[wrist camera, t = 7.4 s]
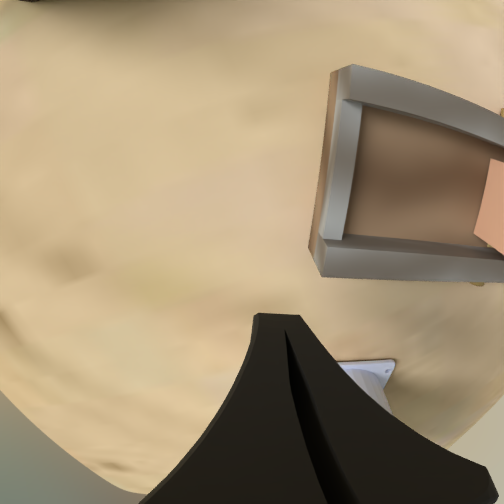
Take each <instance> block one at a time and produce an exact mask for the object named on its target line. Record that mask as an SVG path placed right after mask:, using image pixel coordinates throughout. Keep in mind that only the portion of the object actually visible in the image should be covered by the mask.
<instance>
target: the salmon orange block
mask: <svg viewBox="0 0 504 504" xmlns="http://www.w3.org/2000/svg"><path fill="white" fill-rule="evenodd" d="M474 234H475V235H476V236H478V237H479V238H481V239H482V240H484V241H485V242H486V243H488V244H489V245H491V246H492V247H493V248H495V249H496V250H498V251H499V252H500V253H502V254H503V255H504V163H503V162H500V161H497V160H494V159H490V165H489V170H488V175H487V180H486V185H485V190H484V194H483V199H482V203H481V207H480V211H479V215H478V219H477V222H476V226H475V229H474Z"/></svg>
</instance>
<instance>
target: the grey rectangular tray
mask: <svg viewBox="0 0 504 504" xmlns="http://www.w3.org/2000/svg"><path fill="white" fill-rule="evenodd" d="M490 159H494V160H497V161H500V162H503V163H504V108H502V109H501V116H500V115H498V114H496V113H494V112H492V111H489V110H487V109H485V108H483V107H481V106H479V105H476V104H474V103H472V102H469V101H467V100H465V99H462V98H460V97H457V96H455V95H452V94H450V93H447V92H445V91H442V90H439V89H436V88H434V87H431V86H428V85H425V84H422V83H419V82H416V81H413V80H410V79H407V78H404V77H400V76H397V75H393V74H390V73H386V72H383V71H379V70H375V69H371V68H367V67H363V66H359V65H355V64H351V65H349V66H346V67H344V68H341V69H339V70H336V71H334V72H331V74H330V85H329V95H328V105H327V114H326V123H325V132H324V141H323V149H322V157H321V165H320V172H319V180H318V187H317V194H316V201H315V208H314V214H313V221H312V227H311V233H310V240H309V246H308V248H309V250H310V253H311V255H312V257H313V259H314V261H315V264H316V266H317V268H318V270H319V272H320V275H321V277H330V278H353V279H379V280H409V281H444V282H469V283H471V284H473V285H476V286H483V285H484V283H485V282H497V283H504V255H503V254H502V253H500V252H499V251H498V250H496V249H495V248H493V247H492V246H491V245H489V244H488V243H486V242H485V241H484V240H482V239H481V238H479V237H478V236H476V235H475V234H474V229H475V226H476V222H477V219H478V215H479V211H480V207H481V203H482V199H483V194H484V190H485V185H486V180H487V175H488V170H489V165H490Z"/></svg>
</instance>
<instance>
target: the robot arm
mask: <svg viewBox="0 0 504 504" xmlns="http://www.w3.org/2000/svg"><path fill="white" fill-rule="evenodd" d="M394 367H395V362H394V360H392V359H389V360H375V361H358V362H336V361H335V359H334V358H333V357H332V356H331V355H330V353H329V352H328V351H327V350H326V349H325V347H324V346H323V345H322V344H321V342H320V341H319V340H318V338H317V337H316V336H315V334H314V333H313V332H312V331H311V329H310V328H309V327H308V325H307V324H306V323H305V321H304V320H303V319H302V317H301V316H300V315H289V314H269V313H257V314H256V315H254V318H253V326H252V334H251V342H250V345H249V348H248V351H247V354H246V356H245V359H244V362H243V364H242V366H241V369H240V371H239V373H238V375H237V377H236V379H235V382H234V384H233V386H232V388H231V389H230V391H229V393H228V395H227V397H226V399H225V400H224V402H223V404H222V405H221V407H220V409H219V410H218V412H217V414H216V415H215V416H214V418H213V419H212V421H211V422H210V424H209V425H208V427H207V428H206V430H205V431H204V433H203V434H202V435H201V437H200V438H199V439H198V441H197V442H196V443H195V444H194V446H193V447H192V448H191V449H190V450H189V452H188V453H187V454H186V455H185V456H184V458H183V459H182V460H181V461H180V462H179V463H178V465H177V466H176V467H175V468H174V469H173V470H172V471H171V472H170V473H169V474H168V476H167V477H166V478H165V479H163V480H162V481H161V482H160V483H159V484H158V485H157V486H156V487H155V488H154V489H153V490H152V491H151V492H150V493H149V494H148V495H147V496H146V497H145V498H144V499H143V500H142V501H140V502H139V504H494V503H495V502H496V501H497V499H498V497H499V495H498V492H497V490H496V488H495V485H494V483H493V481H492V479H491V476H490V474H489V472H488V470H487V468H486V467H485V466H482V465H480V464H477V463H475V462H472V461H470V460H468V459H465V458H463V457H461V456H459V455H456V454H454V453H452V452H450V451H448V450H446V449H444V448H442V447H441V446H439V445H437V444H435V443H433V442H432V441H430V440H428V439H426V438H425V437H423V436H422V435H420V434H418V433H417V432H415V431H414V430H412V429H411V428H410V427H408V426H407V425H405V424H404V423H402V422H401V421H400V420H398V419H397V418H395V417H394V415H393V413H392V410H391V408H390V406H389V403H388V401H387V398H386V396H385V394H384V391H383V389H384V387H385V385H386V383H387V381H388V379H389V377H390V375H391V373H392V371H393V369H394Z"/></svg>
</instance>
